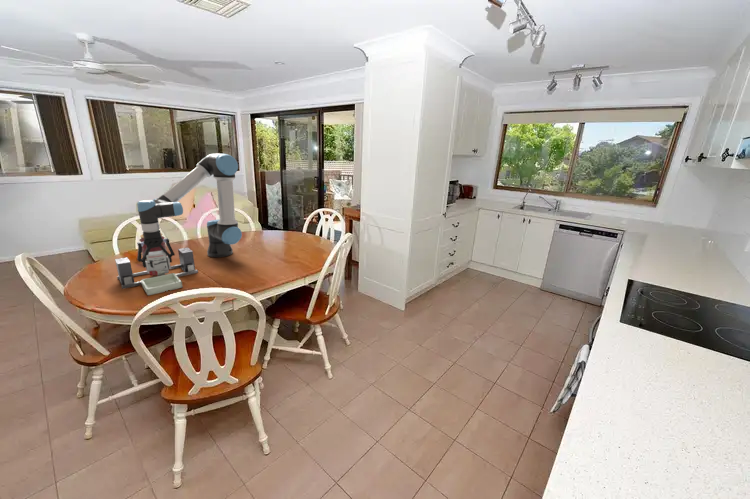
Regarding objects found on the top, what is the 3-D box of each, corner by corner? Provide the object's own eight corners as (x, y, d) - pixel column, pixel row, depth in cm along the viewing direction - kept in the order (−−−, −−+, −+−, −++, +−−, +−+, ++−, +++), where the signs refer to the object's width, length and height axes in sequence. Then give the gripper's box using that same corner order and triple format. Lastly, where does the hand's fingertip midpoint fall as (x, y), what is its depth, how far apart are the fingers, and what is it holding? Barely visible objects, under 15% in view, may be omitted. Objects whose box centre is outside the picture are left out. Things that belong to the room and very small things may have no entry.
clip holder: (190, 265, 185) (187, 246, 181) (198, 272, 175) (195, 252, 171) (117, 279, 162) (112, 257, 158) (122, 288, 152) (117, 266, 148)
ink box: (149, 276, 164) (145, 255, 160) (150, 272, 168) (145, 252, 164) (169, 273, 168) (165, 252, 165) (168, 270, 172) (165, 250, 169)
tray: (174, 278, 166) (174, 272, 165) (182, 287, 156) (181, 281, 155) (141, 285, 156) (140, 279, 155) (147, 295, 146) (146, 289, 146)
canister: (144, 261, 187) (138, 233, 182) (141, 255, 196) (136, 228, 191) (169, 257, 195) (164, 230, 190) (165, 252, 204) (161, 226, 199)
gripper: (173, 225, 170) (180, 263, 177) (123, 232, 156) (133, 273, 163) (177, 228, 165) (183, 267, 172) (126, 235, 151) (135, 277, 158)
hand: (159, 270), depth 168 cm, fingers closed on ink box, 9 cm apart
